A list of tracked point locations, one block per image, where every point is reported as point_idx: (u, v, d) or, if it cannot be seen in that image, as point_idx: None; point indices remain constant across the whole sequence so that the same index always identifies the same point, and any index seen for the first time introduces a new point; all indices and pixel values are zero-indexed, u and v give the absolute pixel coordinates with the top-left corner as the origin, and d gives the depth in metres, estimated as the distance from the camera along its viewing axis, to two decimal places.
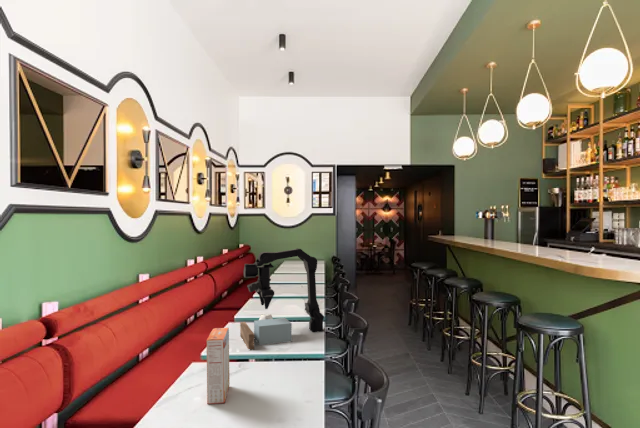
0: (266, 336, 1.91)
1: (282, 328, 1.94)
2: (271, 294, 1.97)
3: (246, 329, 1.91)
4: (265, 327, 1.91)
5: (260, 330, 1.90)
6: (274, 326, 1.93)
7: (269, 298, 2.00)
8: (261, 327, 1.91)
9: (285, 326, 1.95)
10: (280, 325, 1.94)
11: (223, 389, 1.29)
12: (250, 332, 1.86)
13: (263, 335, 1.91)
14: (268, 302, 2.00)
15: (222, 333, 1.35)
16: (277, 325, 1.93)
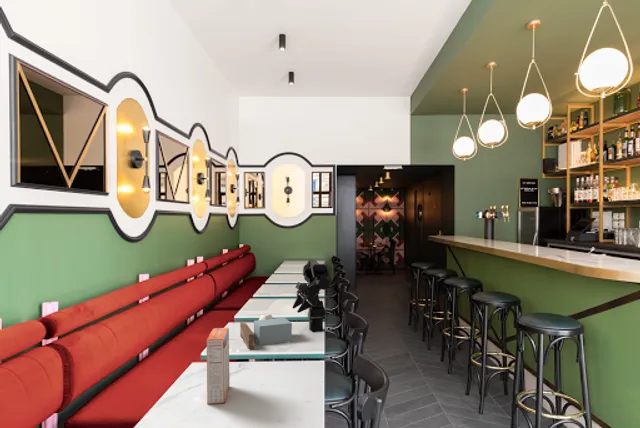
0: (267, 336, 1.91)
1: (282, 328, 1.94)
2: (313, 304, 1.97)
3: (246, 329, 1.91)
4: (265, 327, 1.91)
5: (260, 330, 1.90)
6: (274, 326, 1.93)
7: (307, 306, 1.99)
8: (261, 327, 1.91)
9: (286, 325, 1.95)
10: (280, 325, 1.94)
11: (223, 389, 1.29)
12: (250, 332, 1.86)
13: (264, 335, 1.91)
14: (304, 308, 1.99)
15: (222, 333, 1.35)
16: (277, 325, 1.94)
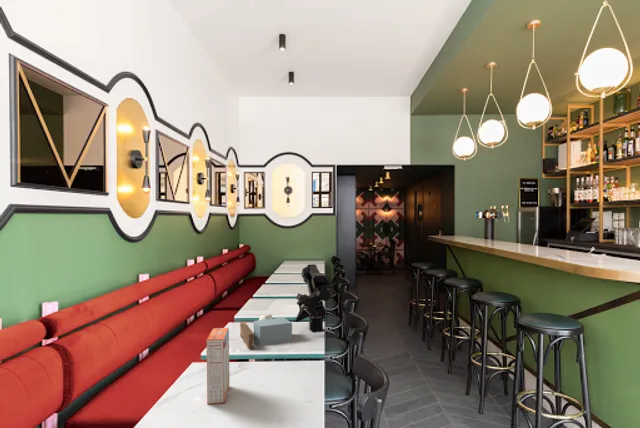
0: (267, 336, 1.91)
1: (283, 328, 1.95)
2: (314, 315, 1.97)
3: (246, 329, 1.91)
4: (266, 327, 1.91)
5: (261, 330, 1.90)
6: (275, 326, 1.93)
7: (305, 315, 2.03)
8: (262, 327, 1.90)
9: (286, 325, 1.95)
10: (281, 324, 1.94)
11: (223, 389, 1.29)
12: (250, 332, 1.86)
13: (264, 335, 1.91)
14: (302, 318, 2.03)
15: (222, 333, 1.35)
16: (278, 325, 1.94)
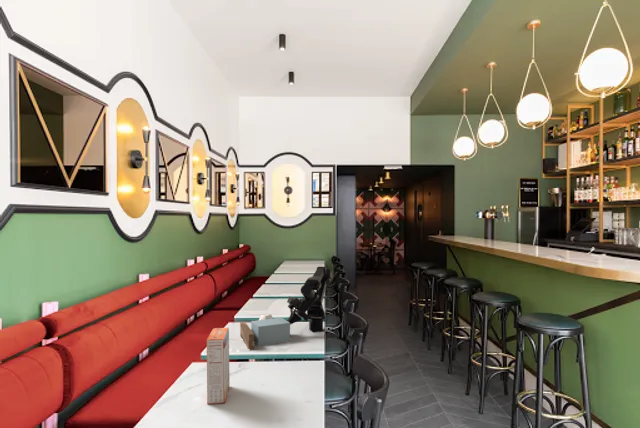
0: (265, 336, 1.91)
1: (281, 328, 1.94)
2: (305, 318, 1.95)
3: (246, 329, 1.91)
4: (264, 327, 1.91)
5: (259, 330, 1.90)
6: (273, 326, 1.92)
7: (296, 319, 2.01)
8: (260, 327, 1.90)
9: (284, 325, 1.95)
10: (279, 324, 1.94)
11: (223, 389, 1.29)
12: (250, 332, 1.86)
13: (263, 335, 1.90)
14: (293, 321, 2.01)
15: (222, 333, 1.35)
16: (276, 325, 1.93)
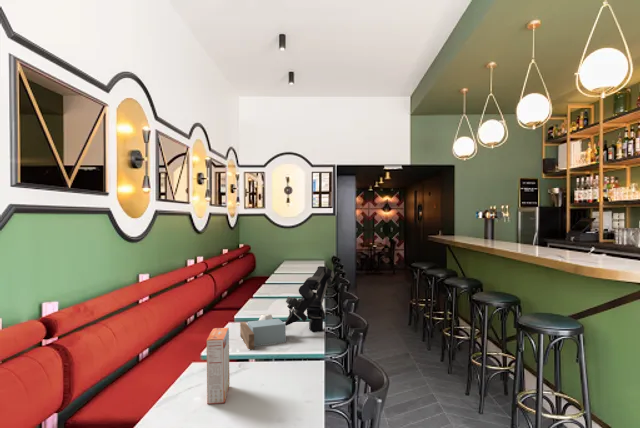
0: (260, 337, 1.90)
1: (276, 329, 1.93)
2: (303, 319, 1.95)
3: (246, 329, 1.91)
4: (259, 328, 1.90)
5: (254, 331, 1.89)
6: (268, 327, 1.91)
7: (295, 319, 2.01)
8: (255, 328, 1.89)
9: (279, 326, 1.93)
10: (274, 325, 1.92)
11: (223, 389, 1.29)
12: (250, 332, 1.86)
13: (257, 336, 1.89)
14: (291, 321, 2.01)
15: (222, 333, 1.35)
16: (271, 326, 1.92)
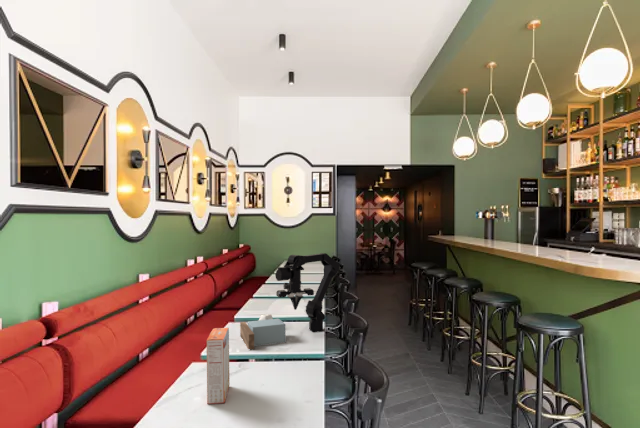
0: (260, 337, 1.90)
1: (276, 329, 1.93)
2: (278, 295, 2.02)
3: (246, 329, 1.91)
4: (259, 328, 1.90)
5: (254, 331, 1.89)
6: (268, 327, 1.91)
7: None
8: (255, 328, 1.89)
9: (279, 326, 1.93)
10: (274, 325, 1.92)
11: (223, 389, 1.29)
12: (250, 332, 1.86)
13: (257, 336, 1.89)
14: (293, 303, 2.06)
15: (222, 333, 1.35)
16: (271, 326, 1.92)
